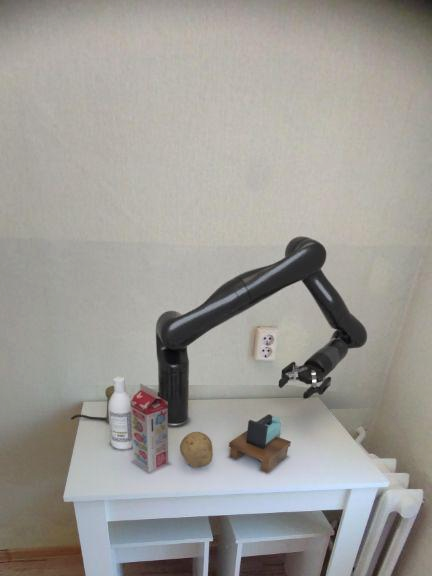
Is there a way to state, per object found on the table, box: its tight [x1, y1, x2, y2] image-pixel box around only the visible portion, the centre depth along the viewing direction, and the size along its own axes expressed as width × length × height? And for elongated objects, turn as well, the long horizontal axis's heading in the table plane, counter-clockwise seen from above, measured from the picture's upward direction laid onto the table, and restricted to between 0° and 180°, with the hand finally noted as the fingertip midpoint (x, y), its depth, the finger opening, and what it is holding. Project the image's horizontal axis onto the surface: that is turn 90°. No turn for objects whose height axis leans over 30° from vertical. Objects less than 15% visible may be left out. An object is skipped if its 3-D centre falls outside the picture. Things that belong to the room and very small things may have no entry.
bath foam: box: [108, 376, 133, 450], centre depth 128 cm, size 7×7×20 cm
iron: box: [246, 414, 282, 449], centre depth 129 cm, size 12×6×7 cm, turn 144°
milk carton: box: [130, 383, 169, 473], centre depth 120 cm, size 7×7×22 cm
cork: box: [104, 385, 114, 425], centre depth 143 cm, size 6×6×11 cm
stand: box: [228, 430, 291, 474], centre depth 131 cm, size 12×13×5 cm
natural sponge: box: [179, 431, 214, 468], centre depth 124 cm, size 9×9×10 cm
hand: (291, 390), depth 134 cm, fingers open, 8 cm apart
